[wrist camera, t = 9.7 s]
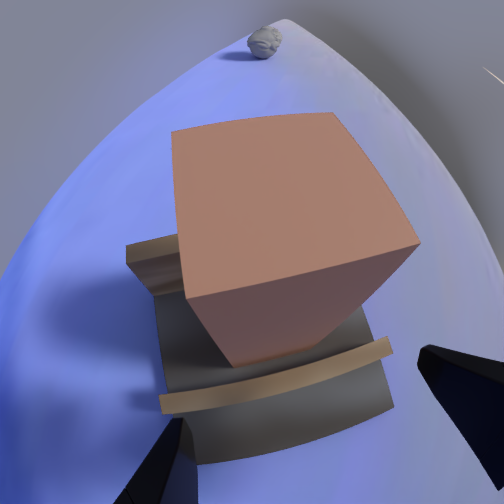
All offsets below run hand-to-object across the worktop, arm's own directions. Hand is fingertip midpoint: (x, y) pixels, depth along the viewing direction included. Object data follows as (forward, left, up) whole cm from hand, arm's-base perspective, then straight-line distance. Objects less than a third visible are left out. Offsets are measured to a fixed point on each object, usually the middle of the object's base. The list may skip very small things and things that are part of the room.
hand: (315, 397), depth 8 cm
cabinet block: (+5, 0, -8) cm, 9 cm away
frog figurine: (+52, -13, -9) cm, 54 cm away
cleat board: (+3, 0, -9) cm, 9 cm away
